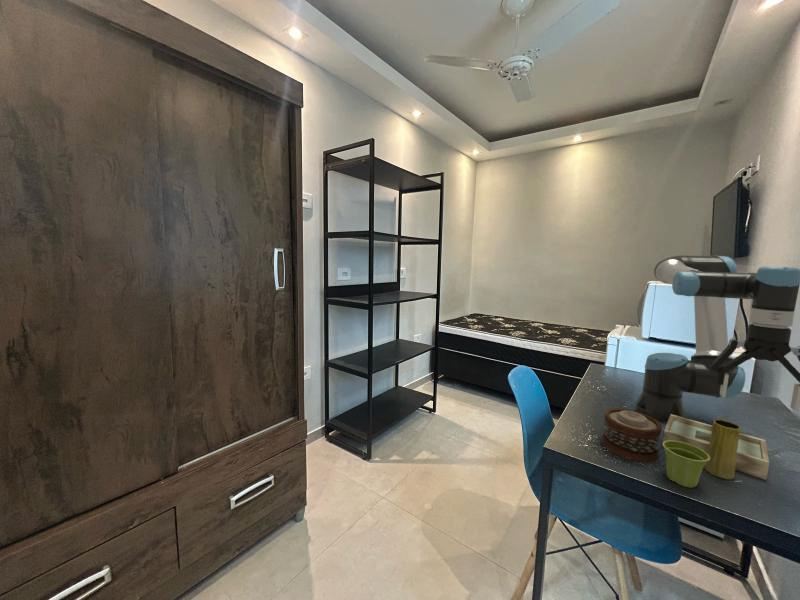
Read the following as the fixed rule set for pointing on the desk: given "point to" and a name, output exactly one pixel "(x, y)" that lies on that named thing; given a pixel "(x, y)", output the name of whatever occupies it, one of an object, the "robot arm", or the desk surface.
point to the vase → (723, 449)
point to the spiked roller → (632, 434)
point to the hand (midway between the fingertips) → (756, 402)
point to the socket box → (698, 434)
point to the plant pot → (684, 462)
